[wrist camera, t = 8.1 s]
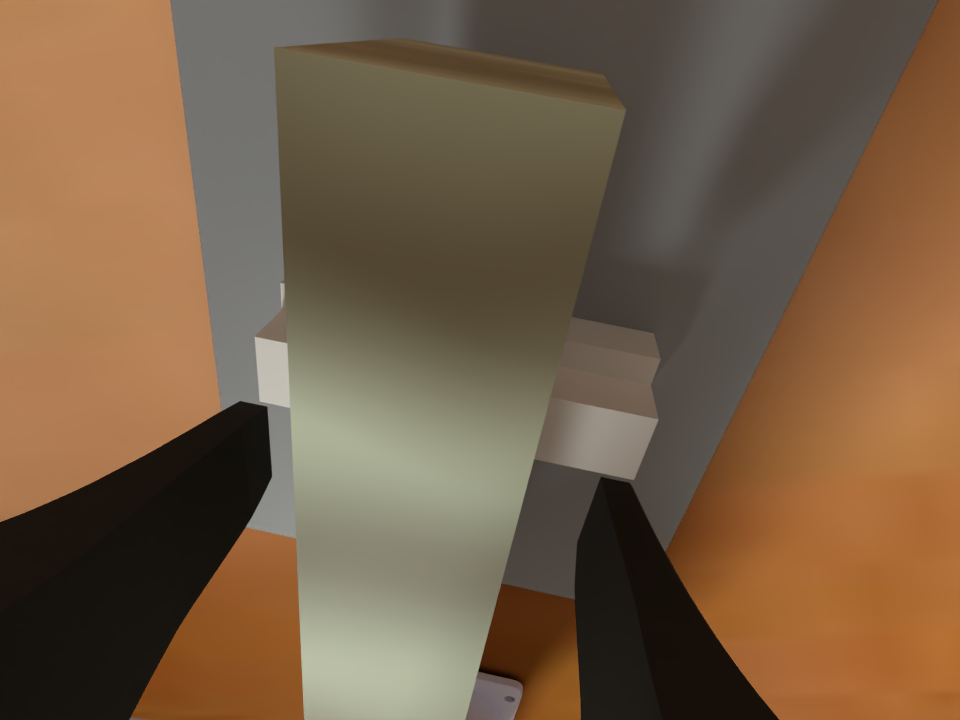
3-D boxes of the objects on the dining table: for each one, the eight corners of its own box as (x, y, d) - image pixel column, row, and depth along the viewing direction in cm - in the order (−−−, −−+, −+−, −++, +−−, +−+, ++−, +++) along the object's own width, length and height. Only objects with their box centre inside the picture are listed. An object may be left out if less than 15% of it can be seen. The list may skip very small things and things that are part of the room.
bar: (474, 616, 18) (444, 796, 14) (368, 592, 18) (306, 763, 14) (602, 73, 10) (626, 110, 5) (401, 37, 10) (273, 46, 6)
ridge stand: (633, 599, 22) (643, 689, 19) (243, 513, 23) (193, 587, 20) (921, 1, 11) (1045, -7, 8) (171, -126, 12) (39, -175, 9)
